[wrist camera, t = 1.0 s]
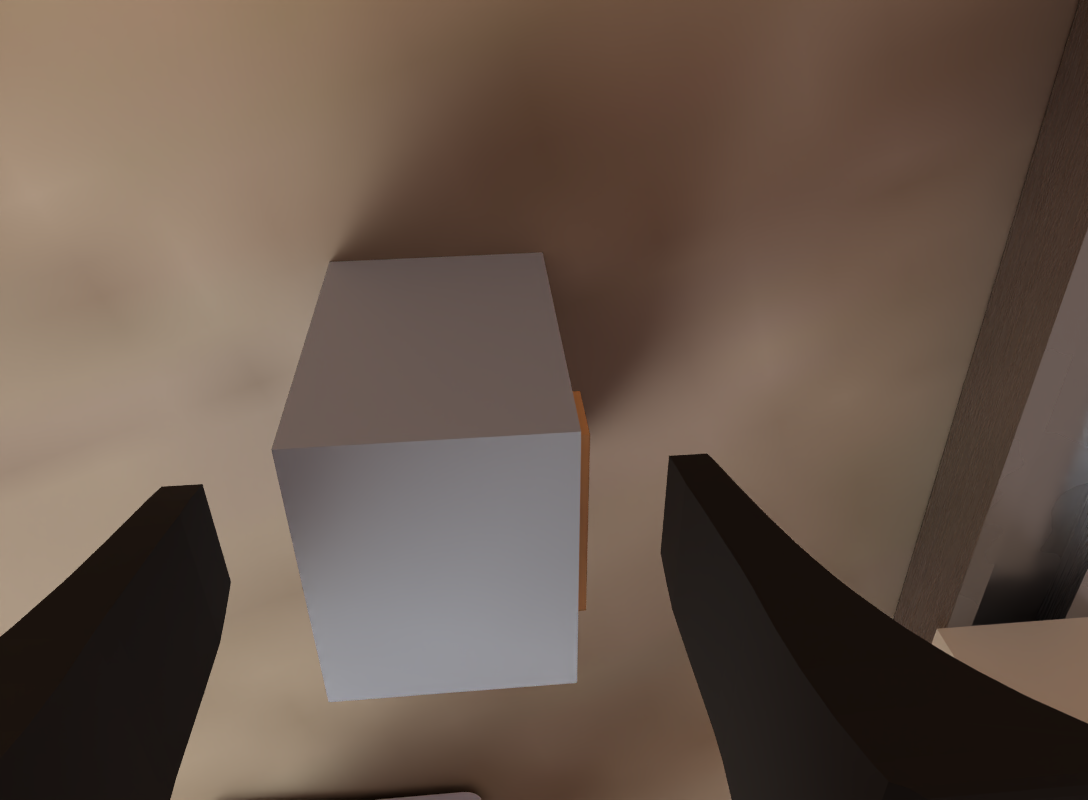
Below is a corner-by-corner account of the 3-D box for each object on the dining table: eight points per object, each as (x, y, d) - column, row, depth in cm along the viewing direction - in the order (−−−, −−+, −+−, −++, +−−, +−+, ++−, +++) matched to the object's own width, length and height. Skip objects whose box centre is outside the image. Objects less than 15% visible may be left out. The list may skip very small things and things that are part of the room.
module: (556, 461, 19) (592, 681, 14) (363, 472, 19) (328, 702, 14) (555, 251, 16) (600, 430, 11) (330, 261, 16) (271, 449, 11)
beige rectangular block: (1057, 722, 22) (1232, 973, 17) (900, 736, 22) (1031, 995, 17) (1111, 615, 20) (1327, 866, 15) (936, 628, 20) (1099, 889, 15)
